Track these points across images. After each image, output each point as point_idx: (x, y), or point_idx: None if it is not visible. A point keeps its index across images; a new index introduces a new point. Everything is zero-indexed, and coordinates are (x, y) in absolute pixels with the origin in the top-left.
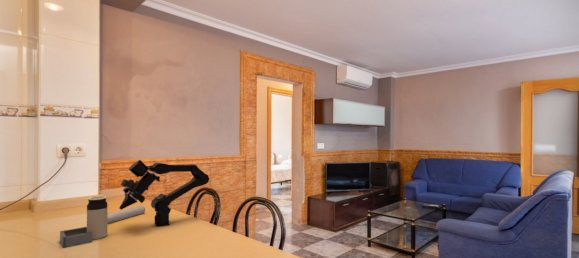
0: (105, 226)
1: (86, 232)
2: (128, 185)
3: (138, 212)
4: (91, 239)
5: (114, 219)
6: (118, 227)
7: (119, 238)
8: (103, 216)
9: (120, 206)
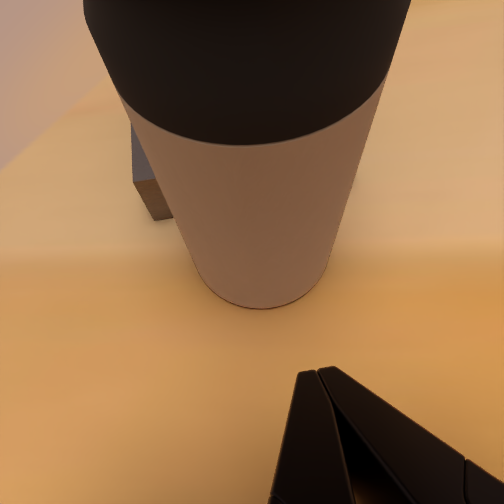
0: (205, 261)
1: None
2: None
3: None
4: (148, 207)
5: None
6: (500, 410)
7: (107, 398)
8: (160, 182)
9: (318, 389)
